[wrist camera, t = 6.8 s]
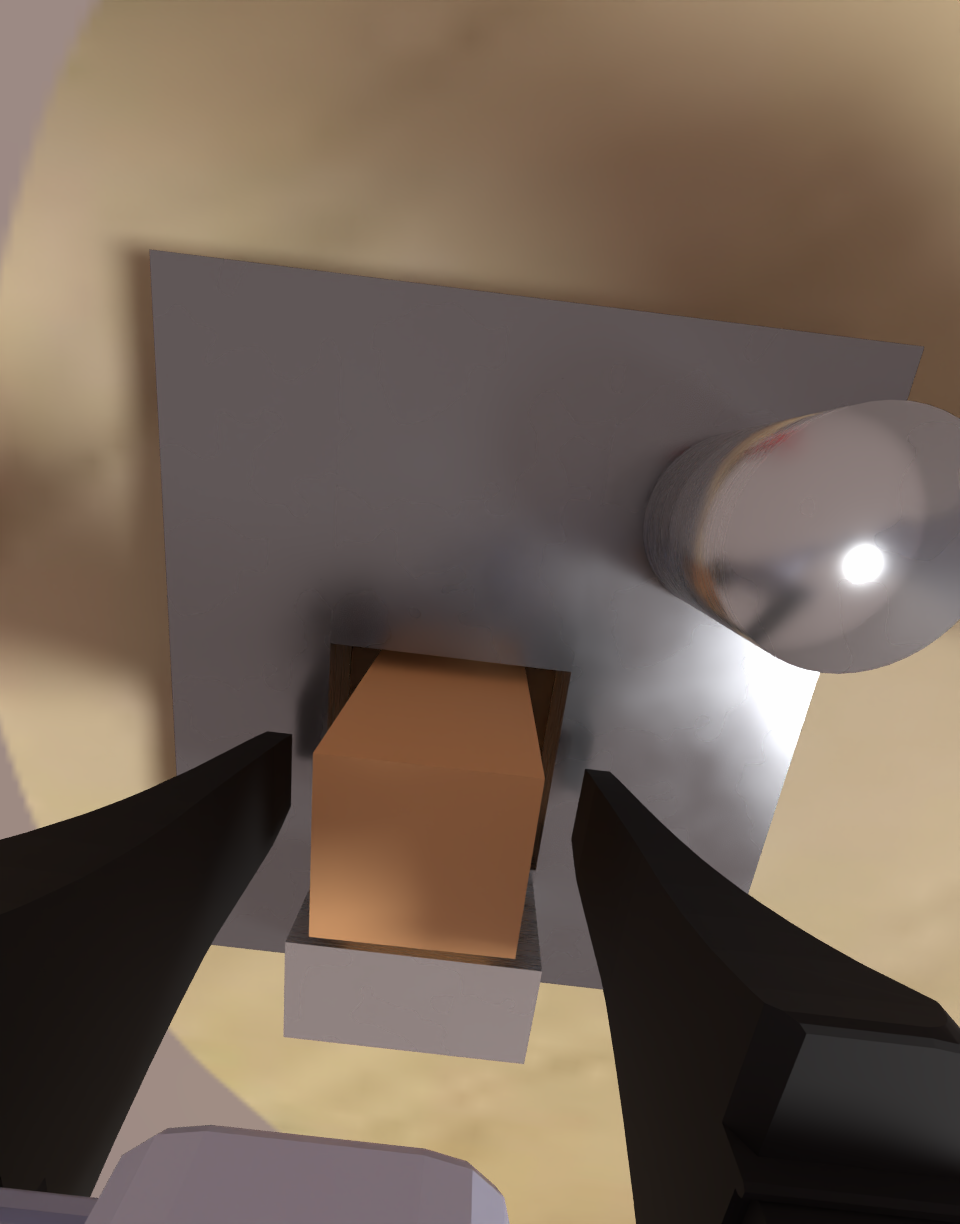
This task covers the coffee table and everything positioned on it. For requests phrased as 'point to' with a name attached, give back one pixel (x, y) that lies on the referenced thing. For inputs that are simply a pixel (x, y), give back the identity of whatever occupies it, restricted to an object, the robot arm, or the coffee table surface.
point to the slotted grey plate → (527, 571)
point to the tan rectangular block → (427, 807)
